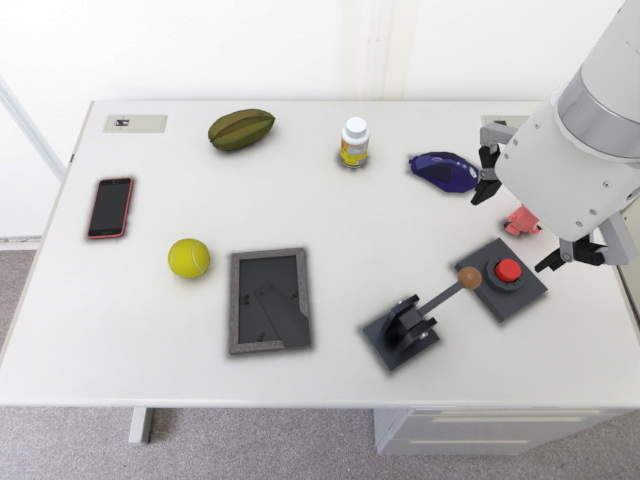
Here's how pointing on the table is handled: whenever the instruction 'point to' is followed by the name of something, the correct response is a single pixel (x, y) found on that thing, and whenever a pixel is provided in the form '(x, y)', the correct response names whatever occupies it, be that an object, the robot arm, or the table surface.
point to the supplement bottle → (354, 142)
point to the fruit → (240, 129)
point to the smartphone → (110, 208)
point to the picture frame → (268, 301)
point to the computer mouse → (446, 171)
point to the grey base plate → (495, 291)
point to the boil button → (508, 270)
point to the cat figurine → (522, 222)
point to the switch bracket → (400, 335)
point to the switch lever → (442, 297)
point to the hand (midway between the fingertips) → (512, 230)
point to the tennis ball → (188, 258)
